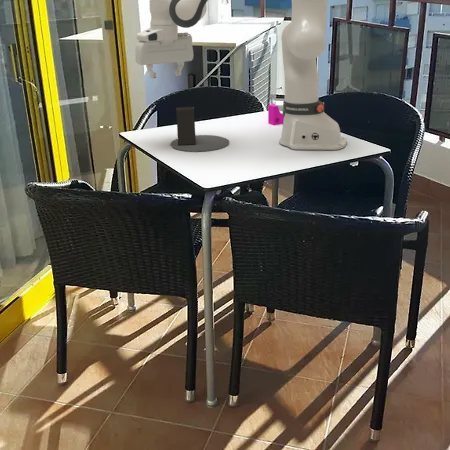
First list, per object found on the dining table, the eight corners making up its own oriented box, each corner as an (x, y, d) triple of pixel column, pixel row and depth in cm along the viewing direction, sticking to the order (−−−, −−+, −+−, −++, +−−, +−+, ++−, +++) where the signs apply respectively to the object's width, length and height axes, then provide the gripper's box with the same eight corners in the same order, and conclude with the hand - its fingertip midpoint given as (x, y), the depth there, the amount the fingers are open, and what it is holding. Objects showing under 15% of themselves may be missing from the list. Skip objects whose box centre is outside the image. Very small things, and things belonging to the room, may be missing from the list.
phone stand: (195, 145, 214) (194, 109, 210) (177, 145, 214) (175, 110, 210) (195, 138, 223) (193, 104, 218) (178, 138, 222) (176, 104, 218)
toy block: (297, 118, 250) (297, 99, 247) (306, 121, 245) (307, 101, 242) (264, 123, 243) (264, 103, 240) (273, 126, 238) (273, 106, 235)
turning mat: (236, 138, 223) (236, 136, 223) (218, 153, 206) (218, 152, 206) (183, 135, 229) (183, 133, 229) (161, 149, 212) (161, 148, 212)
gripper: (187, 31, 215) (187, 72, 220) (132, 34, 205) (134, 78, 210) (196, 32, 210) (197, 75, 216) (140, 36, 200) (142, 80, 205)
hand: (165, 76), depth 213 cm, fingers open, 8 cm apart
